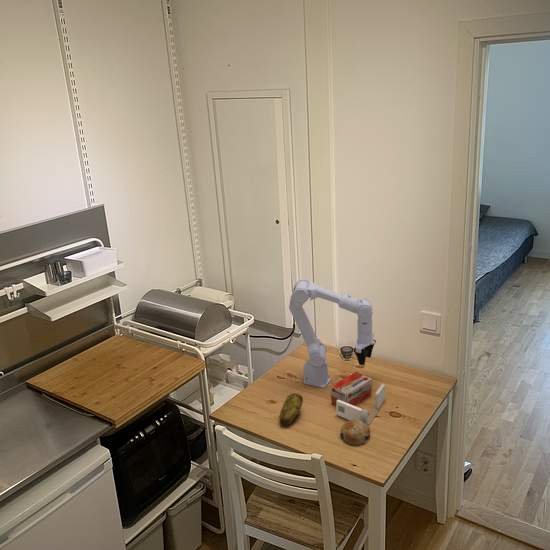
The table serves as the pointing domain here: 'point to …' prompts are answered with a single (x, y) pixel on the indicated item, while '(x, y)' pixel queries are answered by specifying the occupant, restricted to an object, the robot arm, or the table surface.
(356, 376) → the medicine box
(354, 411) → the door
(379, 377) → the table surface
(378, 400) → the white upright panel
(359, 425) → the bread roll
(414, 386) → the table surface
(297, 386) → the table surface
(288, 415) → the olive-green oval lump
